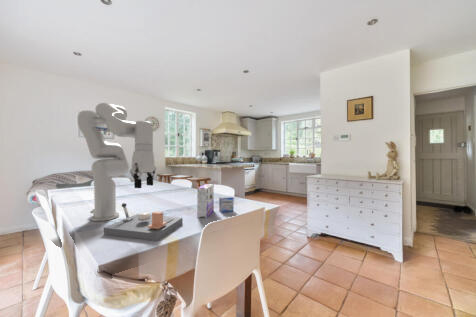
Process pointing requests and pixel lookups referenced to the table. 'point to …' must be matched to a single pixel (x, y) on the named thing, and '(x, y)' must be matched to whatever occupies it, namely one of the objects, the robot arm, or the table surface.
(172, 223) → the control board
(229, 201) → the medicine box
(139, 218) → the push button
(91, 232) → the table surface
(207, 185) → the candy box
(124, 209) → the toggle lever
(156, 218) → the block
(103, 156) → the robot arm
